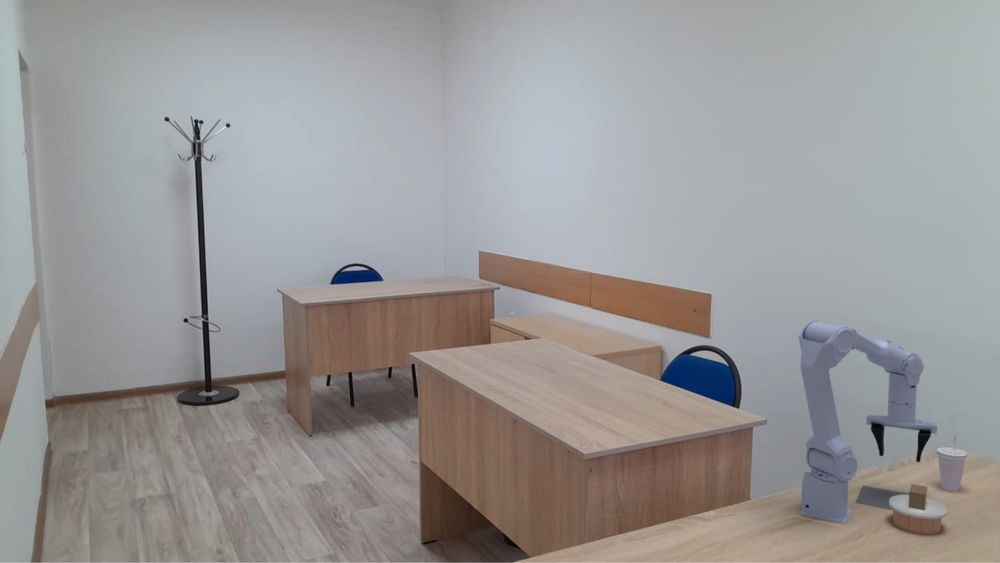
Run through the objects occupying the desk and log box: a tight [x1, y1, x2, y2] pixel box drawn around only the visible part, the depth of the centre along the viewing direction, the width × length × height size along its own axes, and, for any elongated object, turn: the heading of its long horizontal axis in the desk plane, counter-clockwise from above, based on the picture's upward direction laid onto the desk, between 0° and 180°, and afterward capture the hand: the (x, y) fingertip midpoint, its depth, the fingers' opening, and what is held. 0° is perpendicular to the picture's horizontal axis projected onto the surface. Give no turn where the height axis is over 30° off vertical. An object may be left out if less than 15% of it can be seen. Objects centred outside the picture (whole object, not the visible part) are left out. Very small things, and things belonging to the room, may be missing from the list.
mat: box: [855, 485, 909, 511], centre depth 172 cm, size 12×12×1 cm
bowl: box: [892, 510, 943, 535], centre depth 158 cm, size 9×9×4 cm
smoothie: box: [935, 433, 968, 492], centre depth 177 cm, size 6×6×14 cm
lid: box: [889, 483, 948, 519], centre depth 158 cm, size 11×11×4 cm
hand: (899, 457), depth 172 cm, fingers open, 7 cm apart
